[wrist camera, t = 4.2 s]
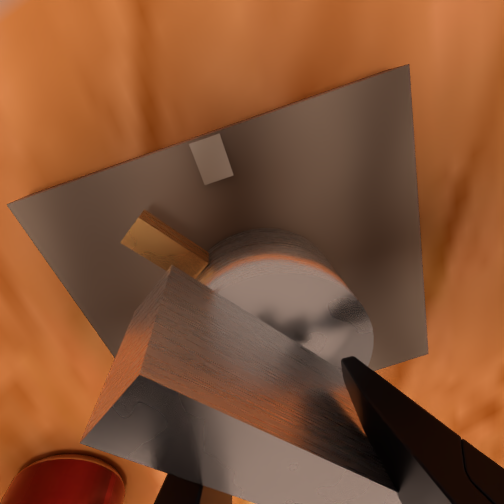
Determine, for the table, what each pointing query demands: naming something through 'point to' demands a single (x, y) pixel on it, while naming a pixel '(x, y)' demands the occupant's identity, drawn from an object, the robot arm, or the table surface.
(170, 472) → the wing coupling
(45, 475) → the soda can
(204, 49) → the table surface
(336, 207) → the post base
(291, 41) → the table surface
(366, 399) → the robot arm
